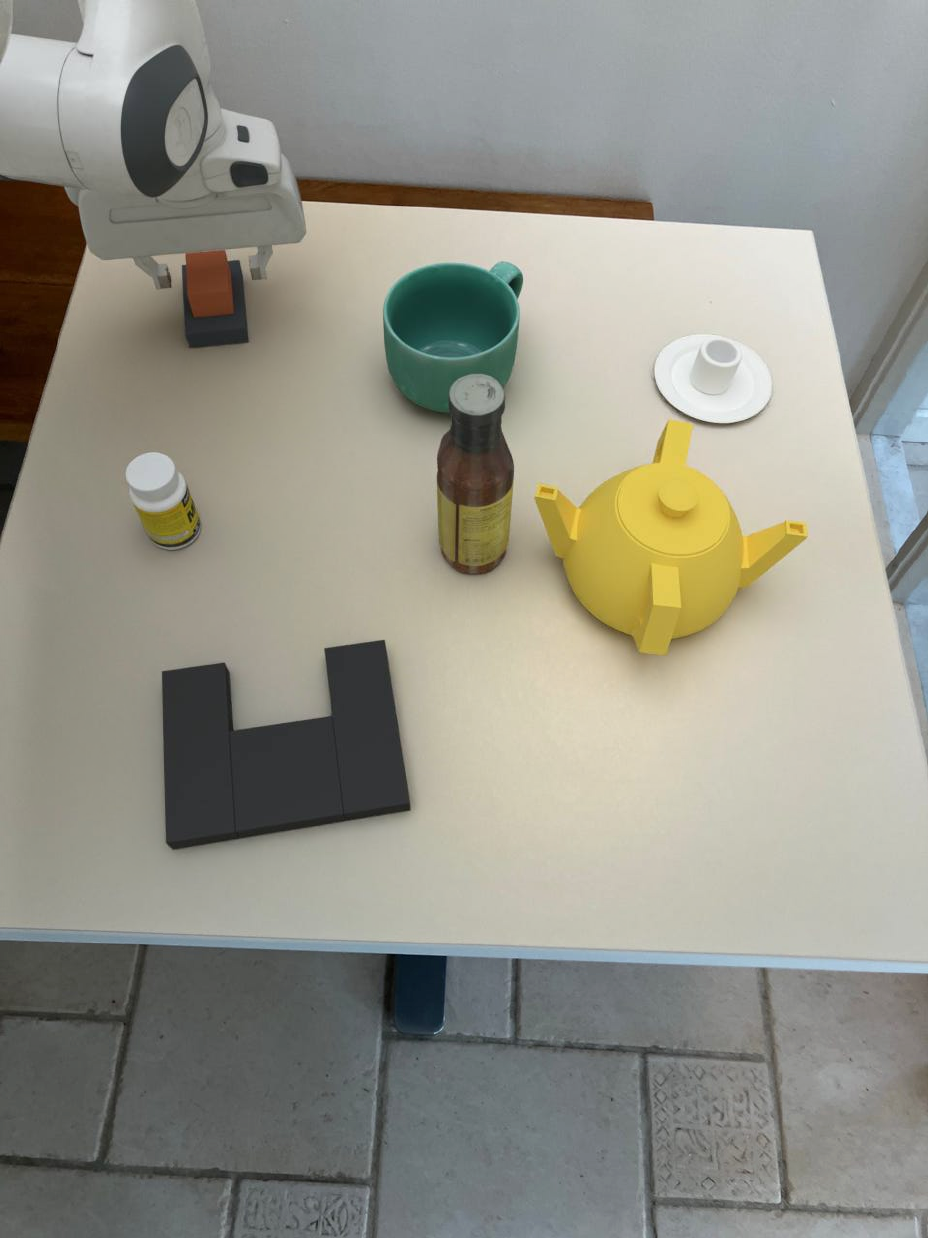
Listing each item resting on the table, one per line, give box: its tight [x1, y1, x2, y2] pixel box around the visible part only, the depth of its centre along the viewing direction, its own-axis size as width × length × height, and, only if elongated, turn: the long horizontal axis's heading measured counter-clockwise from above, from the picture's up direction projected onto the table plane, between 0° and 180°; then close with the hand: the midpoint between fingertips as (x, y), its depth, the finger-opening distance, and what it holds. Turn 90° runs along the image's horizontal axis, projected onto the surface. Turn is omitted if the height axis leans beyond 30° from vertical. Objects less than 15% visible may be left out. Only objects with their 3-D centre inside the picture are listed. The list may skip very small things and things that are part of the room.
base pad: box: [161, 639, 411, 850], centre depth 70 cm, size 18×14×2 cm
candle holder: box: [653, 333, 773, 424], centre depth 89 cm, size 12×12×4 cm
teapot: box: [534, 418, 809, 656], centre depth 74 cm, size 17×17×12 cm
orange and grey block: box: [181, 249, 250, 349], centre depth 90 cm, size 6×10×5 cm, turn 10°
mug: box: [382, 260, 524, 414], centre depth 86 cm, size 17×13×10 cm
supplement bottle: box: [125, 451, 202, 551], centre depth 76 cm, size 5×5×8 cm
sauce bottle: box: [436, 374, 515, 575], centre depth 71 cm, size 7×6×20 cm
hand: (212, 280), depth 89 cm, fingers open, 8 cm apart
